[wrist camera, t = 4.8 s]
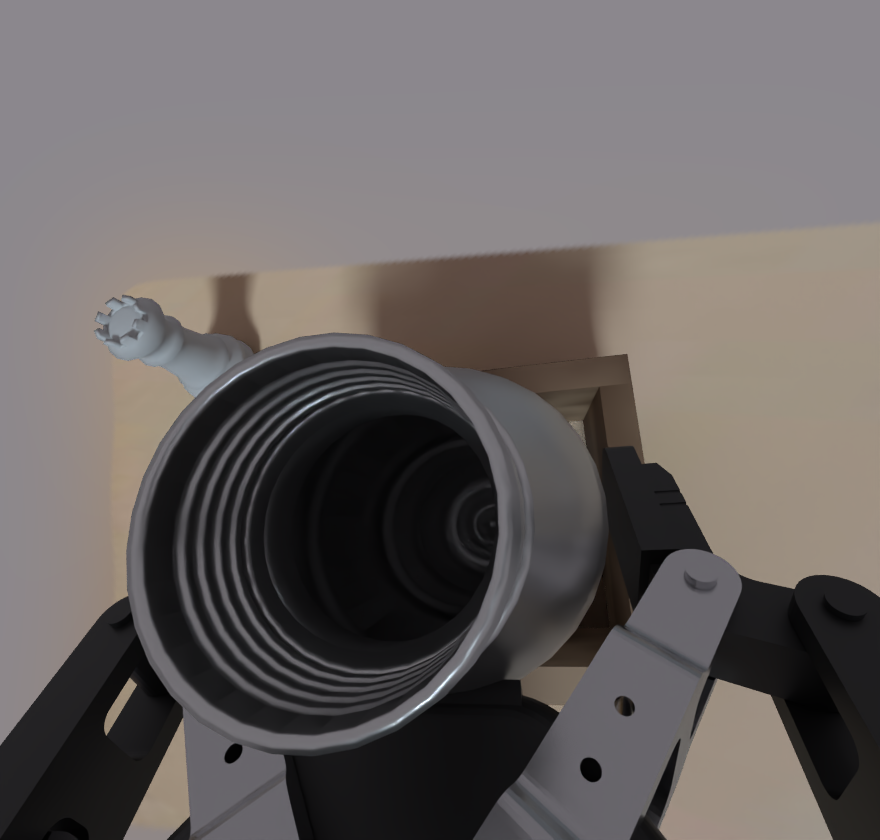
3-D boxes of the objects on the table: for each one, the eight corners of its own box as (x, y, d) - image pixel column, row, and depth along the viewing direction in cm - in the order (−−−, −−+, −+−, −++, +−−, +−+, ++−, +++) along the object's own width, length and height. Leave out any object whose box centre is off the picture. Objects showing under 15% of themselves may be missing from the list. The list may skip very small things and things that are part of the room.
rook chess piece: (219, 332, 29) (108, 264, 22) (273, 355, 28) (175, 292, 20) (186, 393, 29) (60, 346, 21) (239, 419, 27) (126, 379, 20)
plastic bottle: (409, 502, 24) (-63, 421, 5) (517, 437, 24) (451, 81, 5) (469, 615, 22) (82, 1179, 3) (588, 547, 22) (969, 713, 3)
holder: (604, 395, 23) (631, 346, 17) (640, 656, 20) (691, 717, 14) (374, 418, 26) (320, 382, 19) (377, 655, 23) (315, 708, 16)
